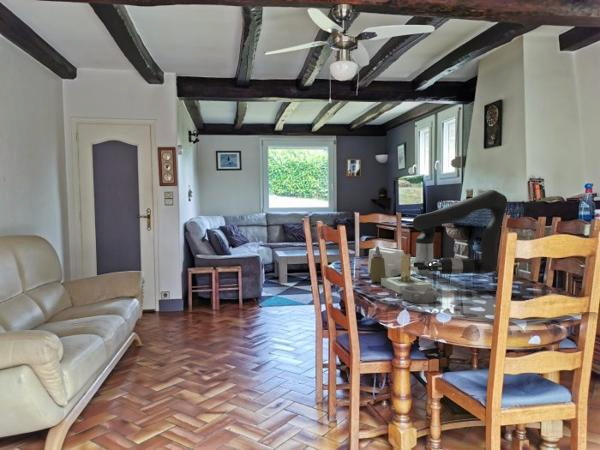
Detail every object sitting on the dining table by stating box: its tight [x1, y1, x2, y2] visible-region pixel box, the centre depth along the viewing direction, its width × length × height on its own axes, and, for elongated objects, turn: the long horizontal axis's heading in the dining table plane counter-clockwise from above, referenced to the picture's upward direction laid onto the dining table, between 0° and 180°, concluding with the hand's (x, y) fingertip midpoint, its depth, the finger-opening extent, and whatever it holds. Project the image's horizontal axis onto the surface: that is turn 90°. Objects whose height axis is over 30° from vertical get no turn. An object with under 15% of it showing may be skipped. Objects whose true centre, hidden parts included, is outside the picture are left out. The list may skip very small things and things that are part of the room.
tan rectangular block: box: [400, 253, 412, 282], centre depth 200 cm, size 4×4×16 cm
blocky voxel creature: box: [367, 246, 419, 278], centre depth 233 cm, size 15×25×28 cm
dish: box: [401, 286, 439, 304], centre depth 177 cm, size 14×14×5 cm
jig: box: [380, 276, 433, 295], centre depth 200 cm, size 20×16×4 cm
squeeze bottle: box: [369, 245, 386, 283], centre depth 217 cm, size 8×8×18 cm
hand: (415, 266), depth 199 cm, fingers open, 8 cm apart
